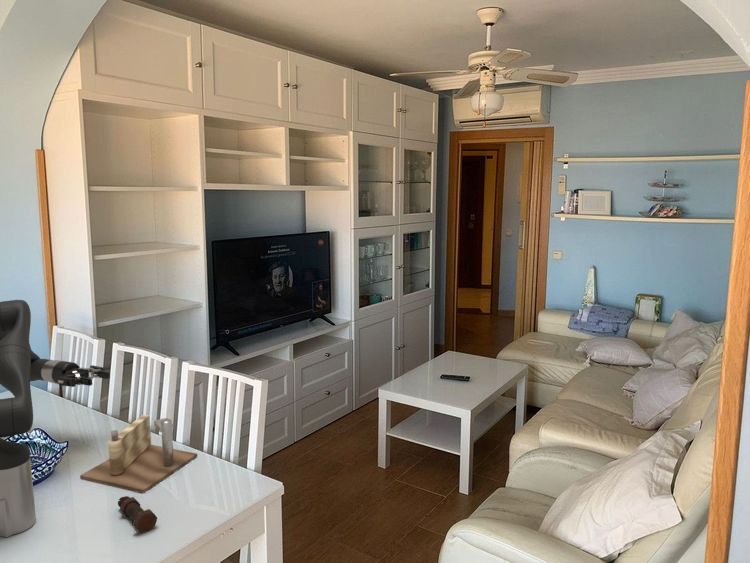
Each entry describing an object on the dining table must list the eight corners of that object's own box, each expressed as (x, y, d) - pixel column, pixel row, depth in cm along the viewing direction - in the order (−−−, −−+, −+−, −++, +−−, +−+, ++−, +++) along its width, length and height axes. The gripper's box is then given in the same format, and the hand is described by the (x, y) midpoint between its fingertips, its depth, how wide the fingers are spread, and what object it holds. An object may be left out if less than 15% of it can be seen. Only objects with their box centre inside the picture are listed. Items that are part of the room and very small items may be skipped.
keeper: (163, 468, 175) (160, 424, 173) (156, 458, 182) (153, 415, 179) (176, 464, 178) (174, 421, 175) (169, 454, 184) (167, 412, 182)
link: (119, 475, 170) (117, 443, 169) (108, 474, 170) (105, 442, 169) (152, 444, 191) (151, 415, 189) (142, 443, 191) (140, 414, 189)
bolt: (127, 513, 157) (150, 535, 146) (109, 510, 153) (132, 533, 143) (136, 491, 158) (160, 512, 147) (119, 488, 155) (142, 509, 144)
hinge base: (143, 493, 163) (140, 446, 161) (80, 478, 171) (76, 433, 168) (197, 456, 185) (195, 414, 183) (139, 444, 193) (136, 404, 191)
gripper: (40, 367, 184) (81, 374, 178) (77, 355, 197) (116, 361, 191) (42, 390, 185) (82, 397, 179) (79, 376, 198) (118, 383, 192)
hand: (100, 378), depth 185 cm, fingers open, 6 cm apart
